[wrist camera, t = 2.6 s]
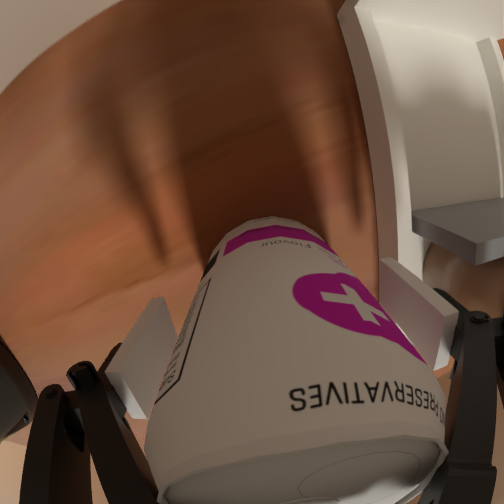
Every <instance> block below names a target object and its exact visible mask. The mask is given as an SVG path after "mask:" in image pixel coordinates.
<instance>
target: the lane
mask: <svg viewBox="0 0 504 504" xmlns="http://www.w3.org/2000/svg"><path fill="white" fill-rule="evenodd" d="M337 18H338V21H339V24H340V27H341V31H342V34H343V37H344V40H345V44H346V47H347V51H348V54H349V58H350V61H351V65H352V69H353V73H354V77H355V81H356V85H357V90H358V94H359V99H360V103H361V108H362V113H363V118H364V124H365V129H366V135H367V141H368V147H369V154H370V161H371V168H372V176H373V185H374V194H375V204H376V216H377V231H378V250H379V259H382V258H387V257H392V258H393V259H395V260H396V261H397V262H399V263H400V264H401V265H403V266H404V267H405V268H407V269H408V270H409V271H410V272H412V273H413V274H414V275H416V276H417V277H418V278H419V279H421V280H422V281H423V265H424V260H425V256H426V253H427V250H428V248H429V246H430V244H431V241H429V240H427V239H425V238H423V237H421V236H419V235H417V234H415V233H413V232H412V219H411V211H415V210H422V209H428V208H435V207H441V206H448V205H455V204H461V203H468V202H475V201H482V200H489V199H496V198H504V60H503V57H502V53H501V50H500V48H499V45H498V42H497V40H499V39H502V38H504V0H346V1H345V2H344V4H343V5H342V7H341V9H340V10H339V12H338V13H337ZM379 304H380V305H381V303H380V268H379ZM381 307H382V308H383V309H384V310H385V312H386V313H387V314H388V315H389V316H390V314H389V313H388V312H387V311H386V309H385V308H384V307H383V306H382V305H381ZM390 318H391V319H392V320H393V321H394V323H395V324H396V325H397V326H398V328H399V329H400V330H401V331H402V333H403V334H404V335H405V337H406V338H407V339H408V340H409V342H410V343H411V344H412V345H413V346H414V344H413V343H412V342H411V341H410V339H409V338H408V337H407V335H406V334H405V333H404V332H403V330H402V329H401V328H400V327H399V325H398V324H397V323H396V322H395V320H394V319H393V318H392V317H391V316H390Z"/></svg>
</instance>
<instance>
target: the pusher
mask: <svg viewBox="0 0 504 504" xmlns="http://www.w3.org/2000/svg"><path fill="white" fill-rule="evenodd" d="M411 219H412V232H413V233H415V234H417V235H419V236H421V237H423V238H425V239H427V240H429V241H431V242H433V243H435V244H437V245H439V246H440V247H442V248H444V249H446V250H448V251H450V252H452V253H453V254H455V255H457V256H459V257H460V258H462V259H464V260H466V261H468V262H469V263H471V264H473V265H474V266H476V265H479V264H482V263H485V262H488V261H491V260H495V259H498V258H501V257H504V198H496V199H489V200H482V201H475V202H468V203H461V204H455V205H448V206H441V207H435V208H428V209H422V210H415V211H411Z"/></svg>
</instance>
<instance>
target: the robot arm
mask: <svg viewBox="0 0 504 504" xmlns="http://www.w3.org/2000/svg"><path fill="white" fill-rule="evenodd" d="M379 268H380V303H381V305H382V306H383V307H384V308H385V309H386V311H387V312H388V313H389V314H390V316H391V317H392V318H393V319H394V320H395V322H396V323H397V324H398V325H399V327H400V328H401V329H402V330H403V332H404V333H405V334H406V335H407V337H408V338H409V339H410V341H411V342H412V343H413V344H414V346H415V347H416V348H417V350H418V351H419V352H420V354H421V355H422V356H423V357H424V359H425V360H426V361H427V363H428V364H429V365H430V367H431V368H432V369H433V371H435V370H437V369H440V368H442V367H444V366H447V365H448V361H449V357H450V355H451V356H452V357H453V358H454V359H455V361H454V364H453V368H452V371H451V374H450V378H449V379H451V385H450V391H449V398H448V403H447V408H446V413H445V436H444V444H445V446H446V448H447V450H448V451H449V454H448V455H447V457H446V458H445V460H444V462H443V463H442V464H441V465H440V466H439V467H438V468H437V469H436V471H435V473H434V475H433V477H432V478H431V480H430V482H429V484H428V485H427V486H426V488H425V489H424V491H423V493H422V495H421V498H420V500H419V502H418V504H491V500H492V496H493V491H494V487H495V481H496V474H497V469H496V467H495V466H492V464H491V461H492V454H493V446H494V437H495V425H496V407H497V406H496V405H497V385H498V389H499V392H500V396H501V400H502V404H503V408H504V311H503V315H502V317H498V318H492V319H491V317H490V316H489V315H488V314H487V313H485V312H483V311H471V312H470V311H469V310H467V309H466V308H465V307H464V306H463V305H461V304H460V303H459V302H458V301H455V299H454V298H453V297H451V296H450V295H449V294H448V293H446V292H445V291H443V290H441V289H438V288H433V289H432V288H431V287H429V286H428V285H427V284H426V283H424V282H423V281H422V280H421V279H419V278H418V277H417V276H416V275H414V274H413V273H412V272H410V271H409V270H408V269H407V268H405V267H404V266H403V265H401V264H400V263H399V262H397V261H396V260H395V259H393V258H392V257H387V258H382V259H379ZM177 338H178V336H177V334H176V331H175V328H174V325H173V322H172V319H171V316H170V313H169V310H168V307H167V304H166V301H165V298H164V297H157V298H152V299H151V300H150V302H149V303H148V305H147V306H146V308H145V309H144V311H143V312H142V314H141V315H140V317H139V318H138V320H137V321H136V323H135V324H134V326H133V327H132V329H131V331H130V332H129V334H128V335H127V337H126V338H125V340H124V341H123V343H119V344H117V345H116V346H115V347H114V348H113V349H112V350H111V351H110V353H109V355H108V357H107V358H106V359H105V362H103V364H102V365H101V367H100V368H99V370H98V372H97V371H96V369H95V367H94V366H93V364H92V363H91V362H89V361H82V362H78V363H76V364H75V365H73V366H72V367H71V368H69V370H68V371H67V375H66V376H67V377H68V379H69V381H70V382H71V384H72V386H73V387H74V389H75V390H74V391H68V392H65V391H64V390H63V388H62V387H61V386H60V385H59V384H52V385H49V386H47V387H45V388H44V389H43V390H42V392H41V393H40V395H39V399H38V398H37V396H36V393H35V391H34V389H33V387H32V385H31V383H30V381H29V380H28V378H27V376H26V375H25V373H24V372H23V370H22V369H21V367H20V366H19V365H18V363H17V362H16V361H15V359H14V358H13V357H12V355H11V354H10V353H9V352H8V350H7V349H6V348H5V347H4V346H3V345H2V344H1V342H0V443H1V442H2V441H3V440H5V439H6V438H8V437H9V436H11V435H13V434H14V433H16V432H17V431H19V430H21V429H22V428H24V427H25V426H27V425H28V424H30V423H31V422H32V420H33V422H32V426H31V430H30V435H29V439H28V444H27V449H26V455H25V460H24V467H23V474H22V481H21V489H20V501H19V504H93V503H92V490H91V471H90V453H91V456H92V459H93V462H94V465H95V468H96V471H97V474H98V477H99V480H100V482H101V485H102V488H103V490H104V493H105V496H106V498H107V500H108V503H109V504H159V503H158V502H157V497H158V493H159V491H158V488H157V486H156V483H155V480H154V478H153V475H152V472H151V469H150V466H149V463H148V461H147V459H146V457H145V455H144V454H143V452H142V450H141V448H140V446H139V444H138V442H137V440H136V438H135V436H134V434H133V432H132V430H131V428H130V426H129V424H128V421H127V420H126V418H125V417H124V415H125V412H126V410H127V411H128V412H129V414H130V415H131V417H132V418H135V419H148V416H149V413H150V410H151V408H152V405H153V402H154V399H155V396H156V394H157V391H158V388H159V385H160V383H161V380H162V377H163V375H164V372H165V369H166V367H167V364H168V361H169V359H170V356H171V353H172V351H173V348H174V345H175V343H176V340H177Z"/></svg>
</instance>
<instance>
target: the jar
mask: <svg viewBox="0 0 504 504" xmlns="http://www.w3.org/2000/svg"><path fill="white" fill-rule="evenodd" d="M423 282H424V283H426V284H427V285H428V286H429V287H431V288H432V289H433V288H438V289H441V290H443V291H445V292H446V293H448V294H449V295H450V296H451V297H453V298H454V299H455V301H458V302H459V303H460V304H461V305H463V306H464V307H465V308H466V309H467V310H469V311H470V312H471V311H483V312H485V313H487V314H488V315H489V316H490V317H491V319H492V318H498V317H502V315H503V311H504V257H501V258H498V259H495V260H491V261H488V262H485V263H482V264H479V265H476V266H474V265H473V264H471V263H469V262H468V261H466V260H464V259H462V258H460V257H459V256H457V255H455V254H453V253H452V252H450V251H448V250H446V249H444V248H442V247H440V246H439V245H437V244H435V243H433V242H431V244H430V246H429V248H428V250H427V253H426V256H425V260H424V265H423Z"/></svg>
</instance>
